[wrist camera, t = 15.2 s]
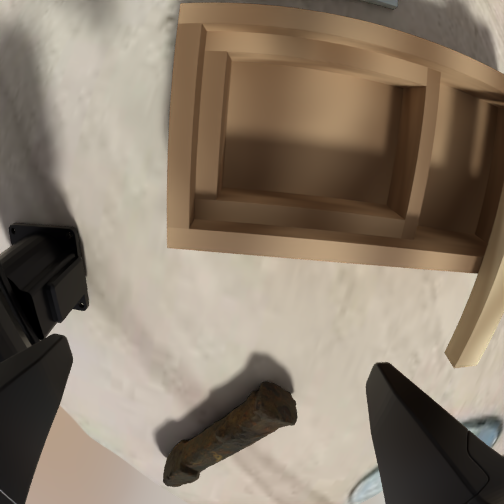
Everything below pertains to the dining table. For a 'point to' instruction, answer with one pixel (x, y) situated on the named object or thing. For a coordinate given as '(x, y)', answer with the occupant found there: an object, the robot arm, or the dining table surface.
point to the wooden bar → (482, 302)
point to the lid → (384, 3)
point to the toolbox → (330, 141)
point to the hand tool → (231, 434)
